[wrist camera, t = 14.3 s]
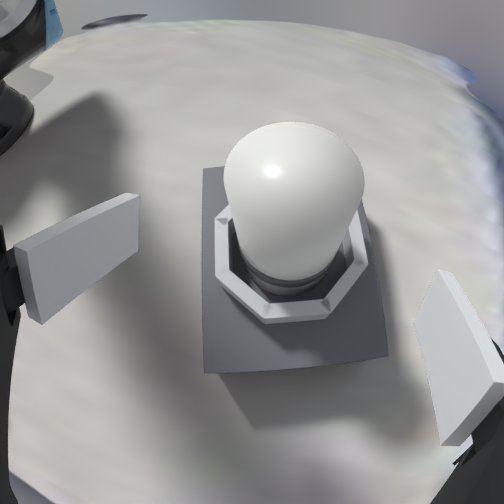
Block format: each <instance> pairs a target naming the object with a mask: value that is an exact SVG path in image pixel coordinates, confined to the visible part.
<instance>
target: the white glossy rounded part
mask: <svg viewBox="0 0 504 504" xmlns="http://www.w3.org/2000/svg"><path fill="white" fill-rule="evenodd" d="M223 178H224V187H225V191H226V194H227V198H228V202H229V206H230V210H231V214H232V218H233V222H234V226H235V230H236V234H237V240H238V244H239V248H240V252H241V256H242V258H243V261H244V264H245V268H246V270H247V273H248V274H249V276H250V278H251V279H252V280H253V281H254V282H255V283H256V284H257V285H258V286H259V287H260V288H262V289H263V290H265V291H267V292H269V293H272V294H275V295H279V296H296V295H300V294H303V293H306V292H308V291H310V290H311V289H313V288H314V287H316V286H317V285H318V284H319V283H320V282H321V281H322V280H323V278H324V277H325V275H326V273H327V271H328V269H329V268H330V266H331V265H332V263H333V261H334V259H335V257H336V255H337V253H338V250H339V247H340V245H341V243H342V240H343V238H344V236H345V234H346V232H347V230H348V228H349V226H350V223H351V221H352V219H353V217H354V215H355V213H356V210H357V208H358V206H359V204H360V202H361V199H362V196H363V192H364V174H363V169H362V166H361V164H360V161H359V159H358V157H357V156H356V154H355V153H354V151H353V150H352V149H351V148H350V146H349V145H348V144H347V143H346V142H345V141H343V140H342V139H341V138H340V137H338V136H337V135H335V134H334V133H332V132H330V131H328V130H326V129H324V128H321V127H319V126H316V125H312V124H308V123H302V122H279V123H274V124H269V125H266V126H263V127H261V128H258V129H256V130H254V131H252V132H251V133H249V134H247V135H246V136H245V137H243V138H242V139H241V140H240V141H239V142H238V143H237V144H236V145H235V147H234V148H233V149H232V151H231V152H230V154H229V156H228V158H227V161H226V163H225V168H224V176H223Z"/></svg>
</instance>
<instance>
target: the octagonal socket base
mask: <svg viewBox="0 0 504 504" xmlns="http://www.w3.org/2000/svg"><path fill="white" fill-rule="evenodd" d="M224 168H225V166H224V167H214V168H205V169H203V190H202V326H203V359H204V373H237V372H257V371H272V370H285V369H297V368H307V367H317V366H326V365H334V364H342V363H349V362H356V361H363V360H369V359H375V358H381V357H386V356H389V355H388V346H387V337H386V329H385V321H384V314H383V307H382V300H381V294H380V287H379V281H378V276H377V270H376V264H375V259H374V254H373V249H372V244H371V239H370V234H369V229H368V225H367V220H366V216H365V211H364V207H363V203H362V199H361V202H360V204H359V206H358V208H357V210H356V213H355V215H354V217H353V219H352V221H351V223H350V226H349V228H348V230H347V232H346V234H345V236H344V238H343V240H342V243H341V245H340V247H339V250H338V253H337V255H336V257H335V259H334V261H333V263H332V265H331V266H330V268H329V269H328V271H327V273H326V275H325V277H324V278H323V280H322V281H321V282H320V283H319V284H318V285H317V286H316V287H314V288H313V289H311V290H310V291H308V292H306V293H303V294H300V295H296V296H279V295H275V294H272V293H269V292H267V291H265V290H263V289H262V288H260V287H259V286H258V285H257V284H256V283H255V282H254V281H253V280H252V279H251V278H250V276H249V274H248V273H247V270H246V268H245V264H244V261H243V258H242V256H241V252H240V248H239V244H238V240H237V234H236V230H235V226H234V222H233V218H232V214H231V210H230V206H229V202H228V198H227V194H226V191H225V187H224V178H223V176H224Z"/></svg>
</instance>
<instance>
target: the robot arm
mask: <svg viewBox="0 0 504 504" xmlns="http://www.w3.org/2000/svg"><path fill="white" fill-rule="evenodd" d="M62 34H63V29H62V25H61V22H60V19H59V16H58V12H57V9H56V6H55V3H54V0H0V155H1V154H2V153H3V152H5V151H6V150H7V149H8V148H9V147H10V146H11V145H12V144H13V143H14V142H15V141H16V139H17V138H18V137H19V136H20V135H21V133H22V132H23V131H24V129H25V128H26V126H27V124H28V122H29V121H30V118H31V116H32V113H33V105H32V103H31V102H30V101H29V99H28V98H27V97H26V96H25V95H21V94H20V93H19V92H18V91H16V90H15V89H13V88H11V87H10V86H8V85H7V84H6V83H5V81H4V80H3V78H4V77H5V76H7V75H8V74H10V73H11V72H12V71H14V70H15V69H16V68H18V67H20V66H21V65H23V64H24V63H25V62H27V61H28V60H30V59H31V58H33V57H35V56H36V55H38V54H39V53H41V52H43V51H45V50H46V49H47V48H48V47H49V46H51V45H52V44H54V43H55V42H57V41H58V40H59V39H60V38H61V37H62ZM139 207H140V195H136V194H131V193H124V194H122V195H119V196H117V197H114V198H112V199H110V200H107V201H105V202H103V203H100V204H98V205H96V206H94V207H91V208H89V209H87V210H85V211H82V212H80V213H78V214H76V215H74V216H71V217H69V218H67V219H65V220H63V221H61V222H59V223H57V224H55V225H53V226H50V227H48V228H46V229H44V230H42V231H40V232H38V233H36V234H34V235H32V236H30V237H29V238H27V239H25V240H23V241H21V242H19V243H17V244H15V245H13V246H14V247H13V248H12V249H10V250H8V251H7V250H6V244H5V238H4V231H3V226H2V225H0V504H18V501H17V499H16V497H15V496H14V493H13V491H12V489H11V486H10V482H9V468H8V413H9V397H10V385H11V375H12V367H13V359H14V352H15V346H16V339H17V334H18V328H19V323H20V318H21V313H20V309H19V307H20V306H21V305H22V304H24V303H25V305H26V309H27V312H28V316H29V317H30V318H31V319H33V320H35V321H36V322H38V323H40V324H42V325H43V324H44V323H45V322H46V321H47V320H49V319H50V318H51V317H52V316H54V315H55V314H56V313H57V312H58V311H60V310H61V309H62V308H63V307H65V306H66V305H67V304H68V303H70V302H71V301H72V300H74V299H75V298H76V297H77V296H79V295H80V294H81V293H83V292H84V291H85V290H86V289H88V288H89V287H90V286H92V285H93V284H94V283H96V282H97V281H98V280H99V279H101V278H102V277H103V276H105V275H106V274H107V273H109V272H110V271H111V270H113V269H114V268H115V267H117V266H118V265H119V264H121V263H122V262H124V261H125V260H126V259H128V258H129V257H130V256H132V255H133V254H135V253H136V252H137V251H139ZM413 325H414V328H415V332H416V335H417V339H418V343H419V346H420V350H421V354H422V358H423V362H424V366H425V370H426V374H427V378H428V382H429V387H430V391H431V396H432V401H433V405H434V410H435V416H436V421H437V426H438V432H439V438H440V445H441V446H460V445H461V444H462V443H463V442H464V441H465V440H466V439H467V438H468V437H469V436H470V435H472V439H473V444H472V445H471V446H470V447H469V448H468V449H467V450H466V451H465V452H464V453H463V454H462V455H461V456H460V457H459V458H458V459H457V460H456V461H455V462H454V463H453V464H454V465H456V464H457V463H458V462H459V463H458V465H457V466H456V468H455V469H454V471H453V472H452V474H451V475H450V477H449V478H448V480H447V481H446V483H445V484H444V485H443V487H442V488H441V490H440V491H439V492H438V494H437V495H436V496H435V498H434V499H433V500H432V502H431V503H430V504H504V355H503V354H502V352H501V350H500V348H499V346H498V345H497V344H496V343H495V342H494V341H493V340H492V339H491V338H490V336H489V334H488V332H487V331H486V329H485V327H484V325H483V323H482V322H481V320H480V318H479V316H478V315H477V313H476V311H475V309H474V308H473V306H472V304H471V303H470V301H469V299H468V298H467V296H466V294H465V293H464V291H463V290H462V288H461V286H460V285H459V283H458V282H457V280H456V279H455V277H454V275H453V274H452V273H451V272H447V271H444V270H440V269H437V270H436V272H435V275H434V277H433V279H432V282H431V284H430V287H429V289H428V291H427V293H426V296H425V298H424V300H423V302H422V305H421V307H420V309H419V311H418V313H417V315H416V317H415V319H414V322H413Z"/></svg>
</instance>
